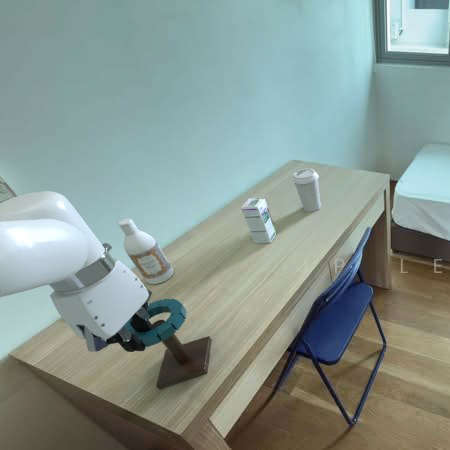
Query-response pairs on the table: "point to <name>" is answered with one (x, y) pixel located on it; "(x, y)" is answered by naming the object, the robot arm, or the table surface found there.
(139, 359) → the table surface
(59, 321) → the table surface
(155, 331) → the ring
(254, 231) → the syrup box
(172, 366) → the stand
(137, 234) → the bath foam
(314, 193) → the coffee cup
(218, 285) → the table surface
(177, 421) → the table surface
